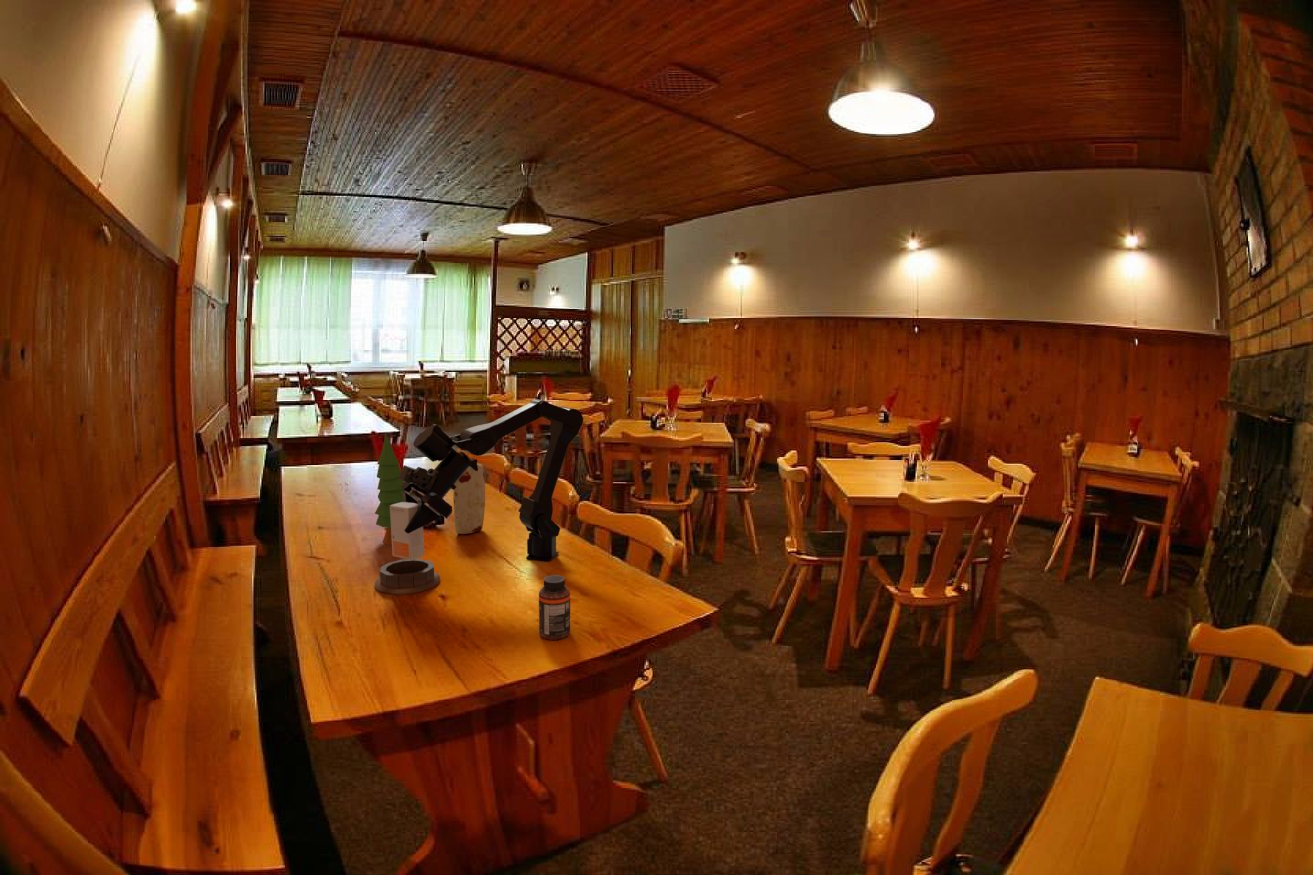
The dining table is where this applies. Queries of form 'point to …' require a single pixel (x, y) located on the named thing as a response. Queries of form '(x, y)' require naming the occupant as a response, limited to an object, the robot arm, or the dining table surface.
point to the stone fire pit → (407, 577)
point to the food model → (469, 501)
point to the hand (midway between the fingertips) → (400, 528)
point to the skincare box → (405, 542)
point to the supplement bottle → (554, 608)
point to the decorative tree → (388, 487)
